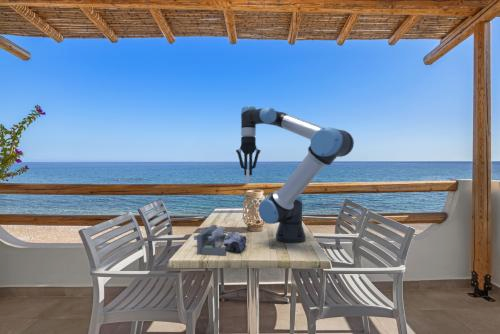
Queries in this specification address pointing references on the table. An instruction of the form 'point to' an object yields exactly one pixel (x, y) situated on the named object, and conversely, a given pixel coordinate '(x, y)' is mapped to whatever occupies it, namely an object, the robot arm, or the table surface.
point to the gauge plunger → (215, 237)
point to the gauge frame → (205, 245)
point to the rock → (235, 242)
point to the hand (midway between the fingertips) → (248, 181)
